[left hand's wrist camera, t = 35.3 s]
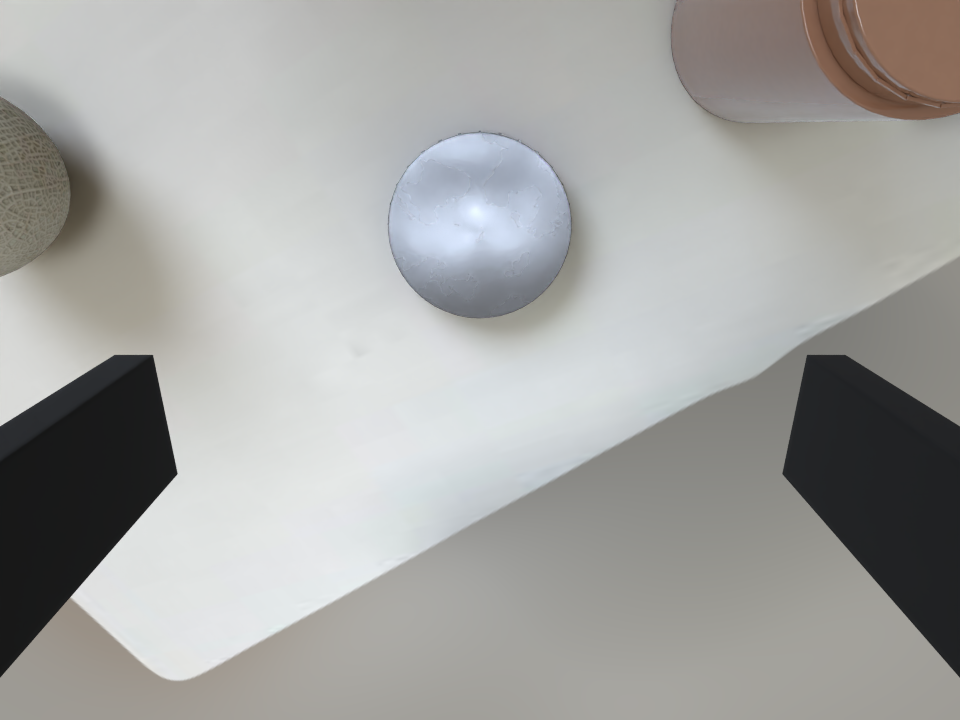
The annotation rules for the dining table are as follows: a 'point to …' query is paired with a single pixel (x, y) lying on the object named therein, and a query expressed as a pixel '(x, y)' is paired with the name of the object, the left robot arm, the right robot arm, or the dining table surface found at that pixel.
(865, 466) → the left robot arm
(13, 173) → the fruit
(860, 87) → the jar
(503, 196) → the lid
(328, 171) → the dining table surface
